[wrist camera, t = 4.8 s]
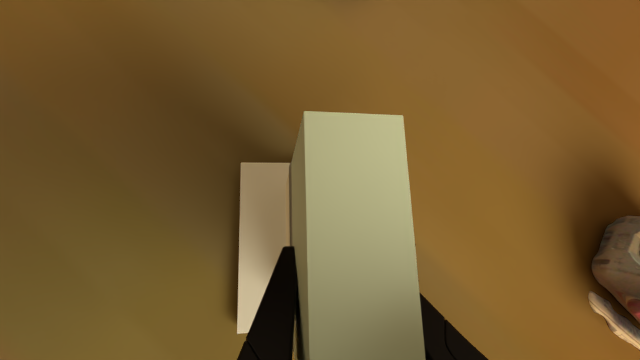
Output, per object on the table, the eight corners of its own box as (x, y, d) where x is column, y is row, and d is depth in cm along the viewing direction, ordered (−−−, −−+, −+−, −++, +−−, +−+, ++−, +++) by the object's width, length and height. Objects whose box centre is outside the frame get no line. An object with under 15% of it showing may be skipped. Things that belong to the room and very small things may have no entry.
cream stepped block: (365, 314, 17) (419, 368, 11) (239, 327, 15) (214, 397, 9) (356, 166, 19) (399, 136, 12) (242, 166, 17) (223, 131, 11)
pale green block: (354, 339, 10) (434, 454, 5) (292, 346, 10) (311, 481, 5) (345, 164, 11) (403, 114, 6) (290, 164, 11) (303, 110, 6)
